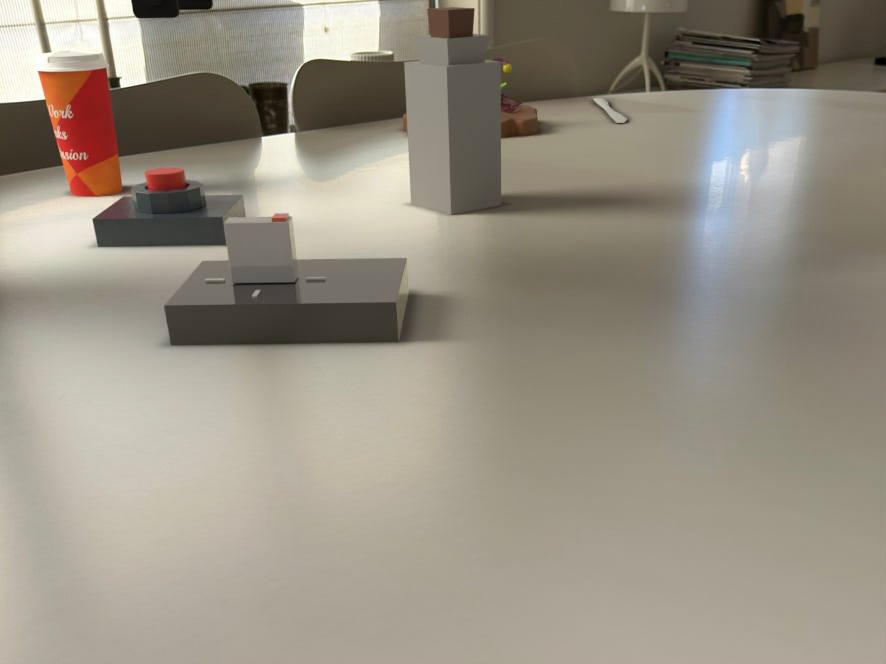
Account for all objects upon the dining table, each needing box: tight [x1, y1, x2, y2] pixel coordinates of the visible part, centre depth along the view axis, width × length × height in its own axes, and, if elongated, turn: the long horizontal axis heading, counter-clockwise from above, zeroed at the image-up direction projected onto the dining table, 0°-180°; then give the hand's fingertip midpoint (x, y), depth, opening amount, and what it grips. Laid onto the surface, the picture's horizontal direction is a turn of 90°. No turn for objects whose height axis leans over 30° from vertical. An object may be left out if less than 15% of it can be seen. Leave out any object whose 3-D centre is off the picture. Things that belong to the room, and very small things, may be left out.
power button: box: [144, 166, 187, 191], centre depth 100 cm, size 4×4×2 cm
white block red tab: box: [224, 212, 298, 283], centre depth 76 cm, size 5×2×4 cm, turn 90°
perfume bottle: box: [403, 6, 502, 216], centre depth 107 cm, size 7×7×18 cm
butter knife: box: [593, 97, 628, 124], centre depth 168 cm, size 1×27×3 cm
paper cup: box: [33, 50, 123, 198], centre depth 116 cm, size 8×8×14 cm
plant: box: [402, 56, 539, 139], centre depth 153 cm, size 20×20×11 cm
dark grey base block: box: [163, 257, 410, 346], centre depth 78 cm, size 16×12×3 cm
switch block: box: [91, 179, 247, 248], centre depth 101 cm, size 12×10×4 cm
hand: (176, 13), depth 80 cm, fingers open, 9 cm apart
